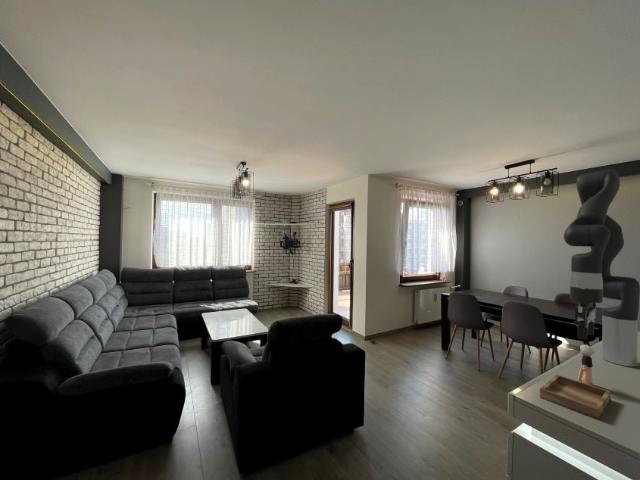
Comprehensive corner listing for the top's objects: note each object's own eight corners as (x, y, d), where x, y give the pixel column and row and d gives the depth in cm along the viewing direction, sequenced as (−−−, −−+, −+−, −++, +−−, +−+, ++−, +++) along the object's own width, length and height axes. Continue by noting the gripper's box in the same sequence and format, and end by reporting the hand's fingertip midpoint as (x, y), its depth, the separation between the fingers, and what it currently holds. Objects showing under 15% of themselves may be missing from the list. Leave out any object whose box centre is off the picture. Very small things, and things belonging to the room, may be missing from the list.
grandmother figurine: (578, 378, 90) (578, 340, 90) (594, 382, 87) (594, 343, 87) (577, 386, 84) (577, 346, 85) (595, 391, 82) (594, 350, 82)
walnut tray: (556, 382, 87) (556, 374, 87) (610, 400, 77) (610, 391, 77) (539, 397, 78) (539, 388, 78) (598, 419, 68) (598, 410, 68)
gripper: (576, 283, 94) (575, 329, 93) (564, 286, 86) (563, 337, 85) (607, 286, 87) (607, 336, 87) (597, 289, 79) (597, 344, 79)
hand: (585, 336), depth 86 cm, fingers open, 8 cm apart
